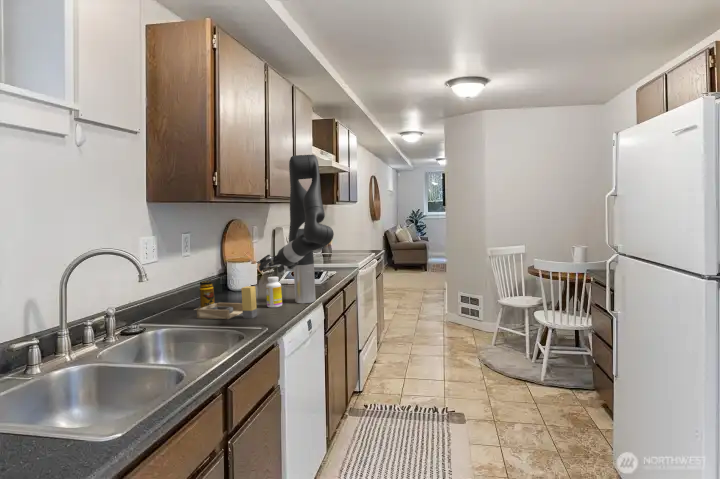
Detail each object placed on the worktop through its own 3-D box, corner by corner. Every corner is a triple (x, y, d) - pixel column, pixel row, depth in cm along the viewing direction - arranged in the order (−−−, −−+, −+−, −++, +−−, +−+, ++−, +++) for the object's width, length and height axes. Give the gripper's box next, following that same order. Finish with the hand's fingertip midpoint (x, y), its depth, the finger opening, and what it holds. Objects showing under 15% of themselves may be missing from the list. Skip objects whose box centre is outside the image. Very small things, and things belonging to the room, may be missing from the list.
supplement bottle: (284, 304, 214) (283, 276, 213) (278, 308, 208) (276, 278, 207) (271, 304, 216) (269, 276, 215) (264, 307, 210) (262, 278, 209)
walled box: (216, 310, 208) (216, 302, 207) (245, 311, 204) (245, 303, 203) (197, 318, 194) (196, 309, 194) (227, 319, 190) (227, 310, 190)
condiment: (212, 309, 210) (210, 282, 209) (193, 310, 210) (191, 283, 210) (218, 306, 217) (216, 279, 216) (199, 306, 218) (198, 280, 217)
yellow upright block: (248, 315, 196) (246, 286, 195) (256, 315, 194) (255, 286, 194) (243, 317, 192) (241, 288, 191) (252, 318, 191) (250, 288, 190)
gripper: (306, 245, 186) (283, 262, 197) (274, 241, 177) (252, 259, 187) (309, 263, 184) (285, 279, 194) (277, 260, 174) (254, 277, 184)
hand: (269, 269), depth 190 cm, fingers open, 8 cm apart
